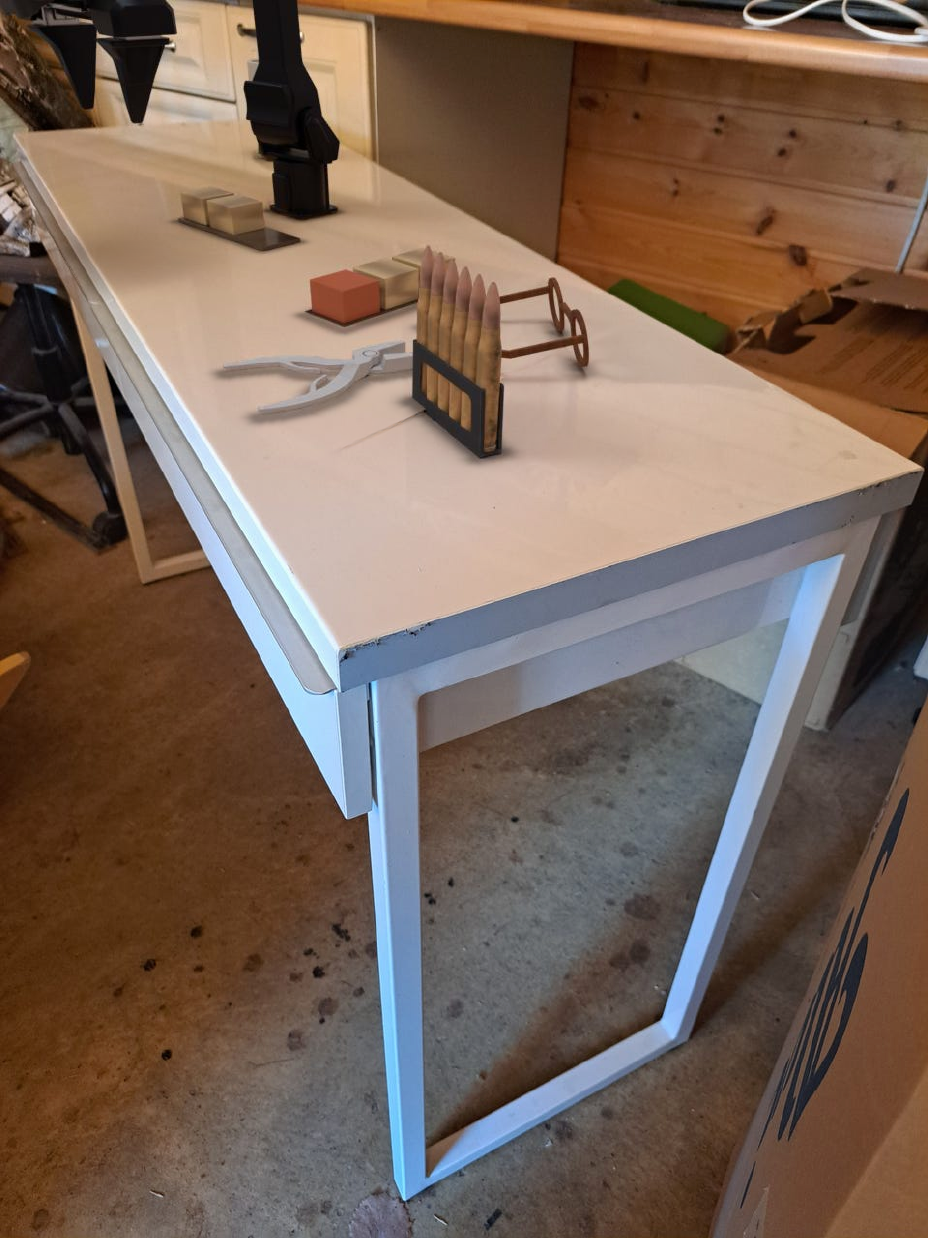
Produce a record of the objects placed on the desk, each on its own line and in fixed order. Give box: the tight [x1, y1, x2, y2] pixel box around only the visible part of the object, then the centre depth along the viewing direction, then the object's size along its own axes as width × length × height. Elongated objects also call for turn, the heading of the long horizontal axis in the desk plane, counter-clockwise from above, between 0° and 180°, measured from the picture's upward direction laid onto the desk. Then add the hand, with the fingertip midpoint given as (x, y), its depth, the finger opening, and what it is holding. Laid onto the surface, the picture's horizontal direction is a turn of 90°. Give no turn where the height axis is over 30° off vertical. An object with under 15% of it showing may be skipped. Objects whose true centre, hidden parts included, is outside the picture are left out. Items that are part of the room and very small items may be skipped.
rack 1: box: [177, 185, 301, 252], centre depth 104 cm, size 16×6×3 cm, turn 49°
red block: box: [309, 269, 380, 324], centre depth 83 cm, size 5×5×3 cm
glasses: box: [499, 276, 590, 368], centre depth 77 cm, size 13×13×5 cm
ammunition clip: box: [411, 244, 505, 459], centre depth 63 cm, size 11×2×12 cm, turn 30°
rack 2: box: [304, 247, 456, 328], centre depth 86 cm, size 16×6×3 cm, turn 139°
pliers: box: [222, 339, 413, 415], centre depth 72 cm, size 10×2×15 cm
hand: (112, 115), depth 86 cm, fingers open, 9 cm apart
